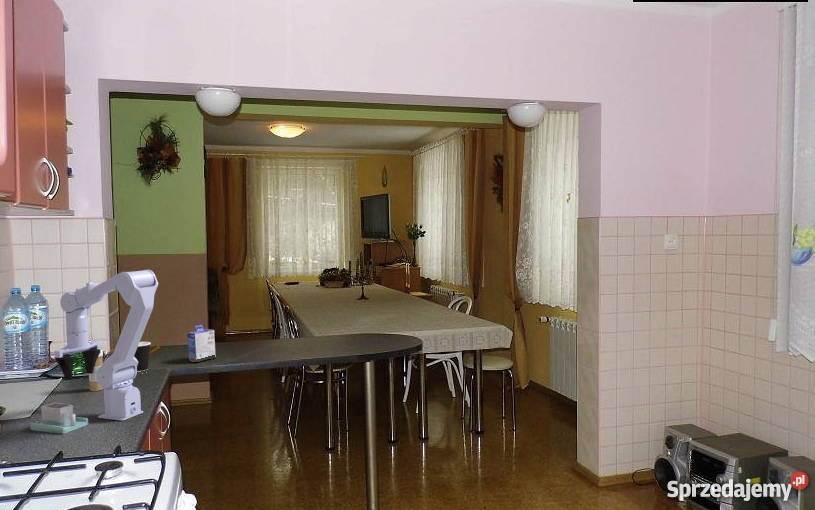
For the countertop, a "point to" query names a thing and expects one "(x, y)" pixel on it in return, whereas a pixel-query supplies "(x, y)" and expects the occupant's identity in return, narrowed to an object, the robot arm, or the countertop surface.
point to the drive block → (56, 414)
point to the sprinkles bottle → (92, 377)
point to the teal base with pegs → (75, 424)
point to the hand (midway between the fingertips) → (79, 376)
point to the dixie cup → (142, 356)
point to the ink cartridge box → (201, 343)
